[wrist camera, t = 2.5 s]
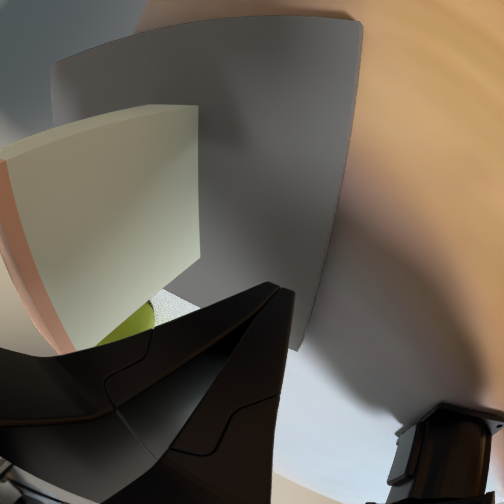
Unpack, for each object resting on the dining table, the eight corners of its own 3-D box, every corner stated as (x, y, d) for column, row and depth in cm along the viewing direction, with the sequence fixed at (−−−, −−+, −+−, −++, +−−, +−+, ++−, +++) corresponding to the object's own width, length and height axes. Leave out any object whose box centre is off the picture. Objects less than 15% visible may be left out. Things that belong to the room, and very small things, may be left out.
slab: (198, 105, 11) (-13, 169, 5) (200, 257, 16) (71, 367, 9) (148, 104, 13) (-27, 160, 6) (158, 239, 17) (36, 328, 10)
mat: (363, 26, 7) (359, 21, 7) (302, 342, 16) (297, 351, 16) (58, 63, 15) (50, 65, 15) (80, 234, 24) (73, 237, 24)
